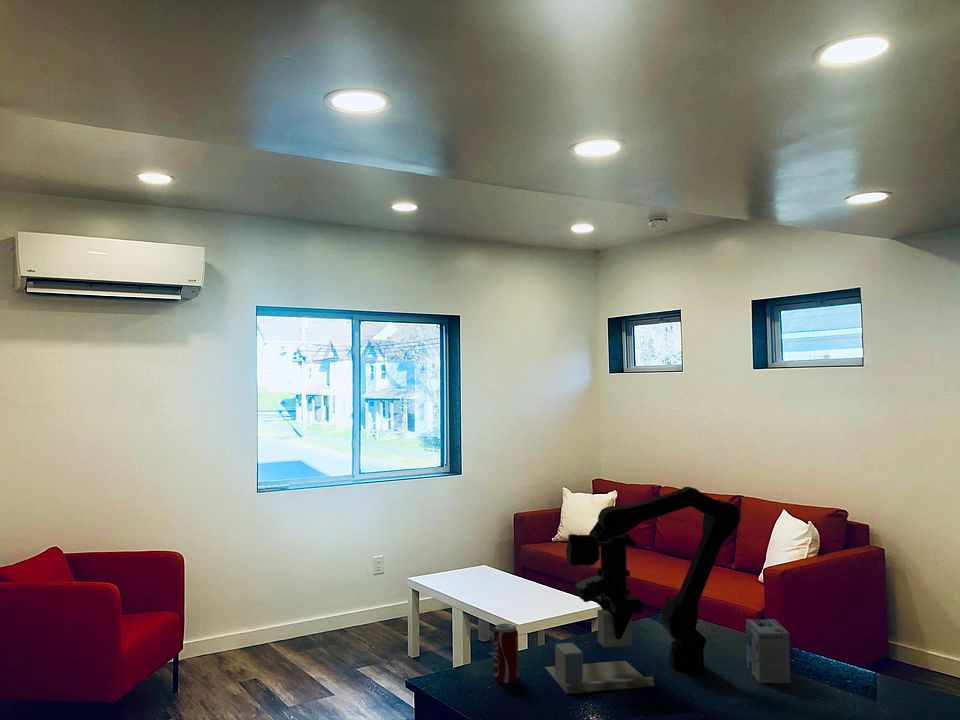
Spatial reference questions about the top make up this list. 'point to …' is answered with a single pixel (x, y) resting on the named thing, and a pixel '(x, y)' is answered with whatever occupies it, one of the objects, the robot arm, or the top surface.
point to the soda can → (505, 653)
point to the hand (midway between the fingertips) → (614, 636)
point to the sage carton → (611, 631)
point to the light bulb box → (768, 651)
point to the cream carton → (568, 663)
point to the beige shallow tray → (605, 677)
